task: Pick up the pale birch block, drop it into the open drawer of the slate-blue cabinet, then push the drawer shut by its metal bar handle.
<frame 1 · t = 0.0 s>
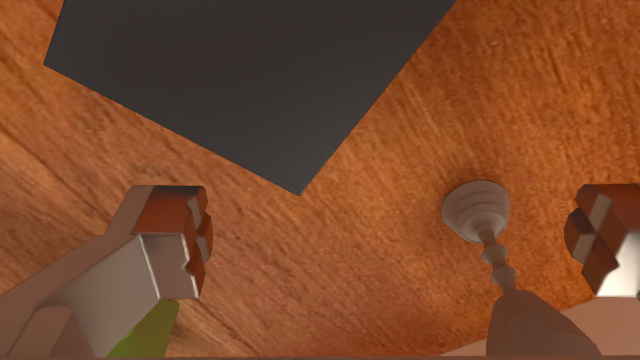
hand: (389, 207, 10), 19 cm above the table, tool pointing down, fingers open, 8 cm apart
kettle: (128, 311, 43), on the table
chalice: (474, 206, 35), on the table
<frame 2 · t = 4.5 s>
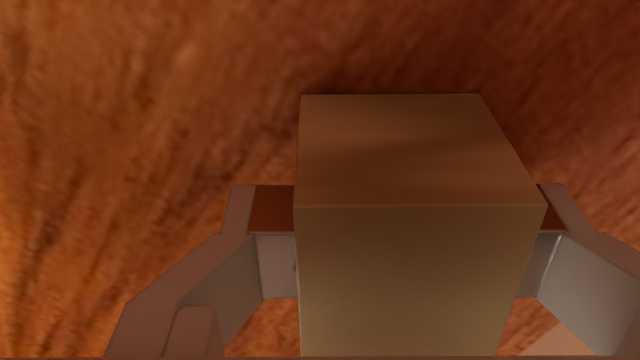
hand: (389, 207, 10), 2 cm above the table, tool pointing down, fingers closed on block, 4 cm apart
block: (383, 166, 12), on the table, touching gripper
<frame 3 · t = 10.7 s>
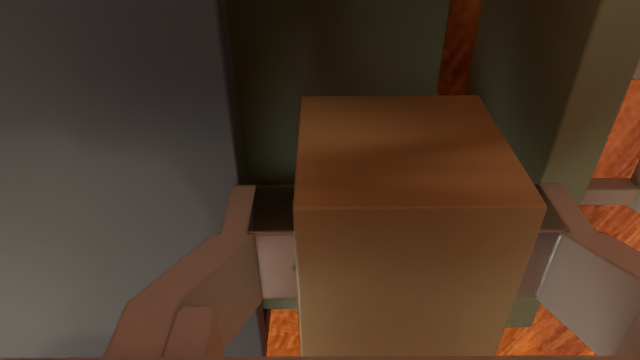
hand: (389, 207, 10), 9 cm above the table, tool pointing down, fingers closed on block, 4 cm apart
drawer: (399, 112, 14), point 4 cm above the table, slide at 7.0 cm
block: (383, 168, 12), point 7 cm above the table, touching gripper
cabinet: (91, 60, 18), on the table
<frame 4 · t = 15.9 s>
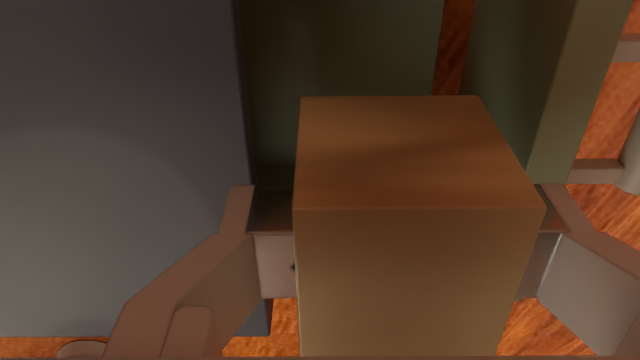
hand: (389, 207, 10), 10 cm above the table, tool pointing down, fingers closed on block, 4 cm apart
drawer: (397, 96, 15), point 4 cm above the table, slide at 7.0 cm
block: (383, 168, 12), point 8 cm above the table, touching gripper
cabinet: (103, 48, 18), on the table
when the fingers open (11 cm above the table, at t = 21.1 s): block drops 7 cm, resting on drawer.
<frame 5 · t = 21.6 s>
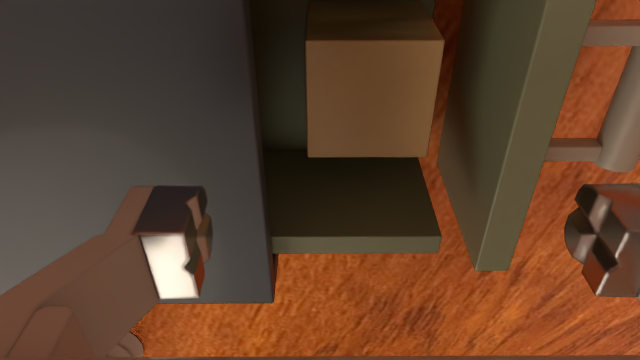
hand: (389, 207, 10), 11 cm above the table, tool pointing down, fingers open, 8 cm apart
chalice: (106, 343, 32), on the table
drawer: (391, 80, 16), point 4 cm above the table, slide at 7.0 cm, touching block
block: (361, 55, 18), point 2 cm above the table, touching drawer
cabinet: (116, 38, 19), on the table
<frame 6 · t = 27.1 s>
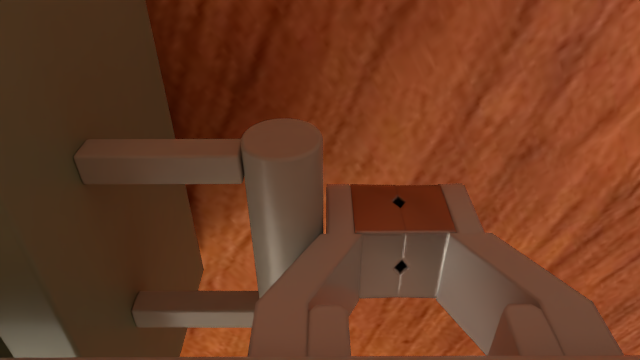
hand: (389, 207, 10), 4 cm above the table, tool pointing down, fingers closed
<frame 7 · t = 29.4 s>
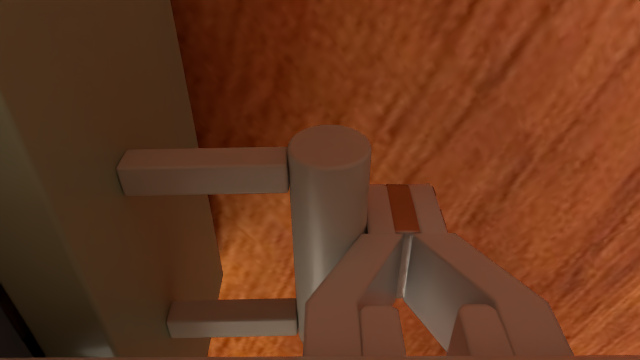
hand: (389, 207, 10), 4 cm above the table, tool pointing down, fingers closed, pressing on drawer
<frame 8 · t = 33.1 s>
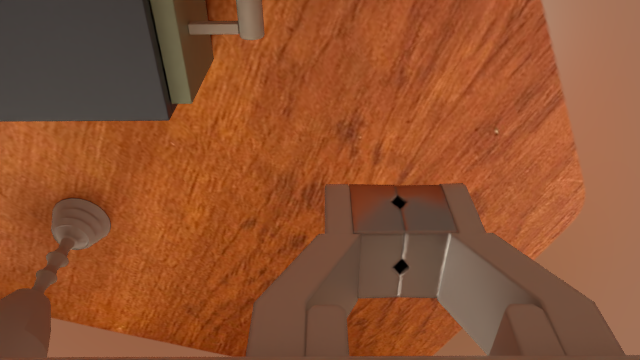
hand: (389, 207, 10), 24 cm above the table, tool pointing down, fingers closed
chalice: (82, 219, 43), on the table
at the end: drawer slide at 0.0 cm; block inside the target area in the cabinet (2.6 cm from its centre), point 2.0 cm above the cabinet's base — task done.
